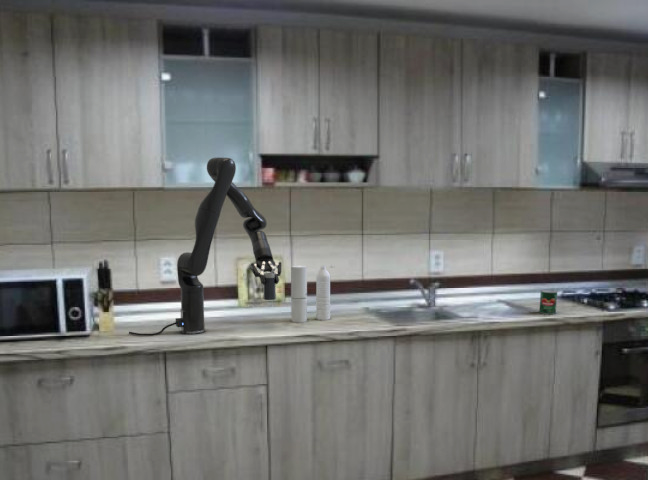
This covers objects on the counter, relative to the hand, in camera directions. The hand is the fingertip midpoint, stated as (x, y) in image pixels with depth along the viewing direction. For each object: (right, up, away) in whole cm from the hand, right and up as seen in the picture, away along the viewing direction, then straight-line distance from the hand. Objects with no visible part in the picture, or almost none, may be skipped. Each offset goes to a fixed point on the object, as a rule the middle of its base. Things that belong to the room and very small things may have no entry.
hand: (270, 283), depth 263 cm
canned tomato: (+133, -14, +44) cm, 140 cm away
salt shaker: (-1, -7, +3) cm, 7 cm away
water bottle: (+23, -16, +26) cm, 38 cm away
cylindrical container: (+11, -17, +21) cm, 29 cm away
